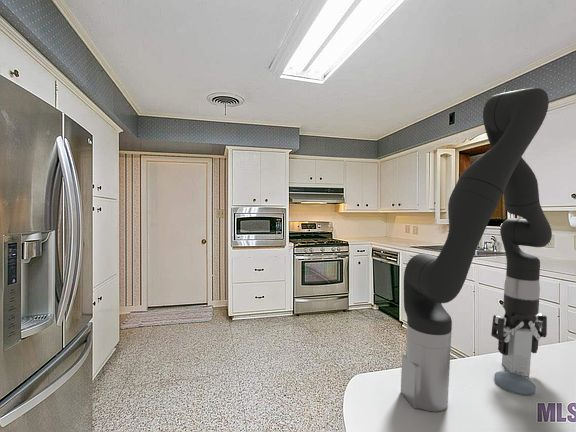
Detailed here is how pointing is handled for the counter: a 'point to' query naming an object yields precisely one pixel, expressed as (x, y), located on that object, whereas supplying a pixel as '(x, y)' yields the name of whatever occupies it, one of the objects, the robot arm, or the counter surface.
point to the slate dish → (515, 383)
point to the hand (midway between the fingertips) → (517, 352)
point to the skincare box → (519, 352)
